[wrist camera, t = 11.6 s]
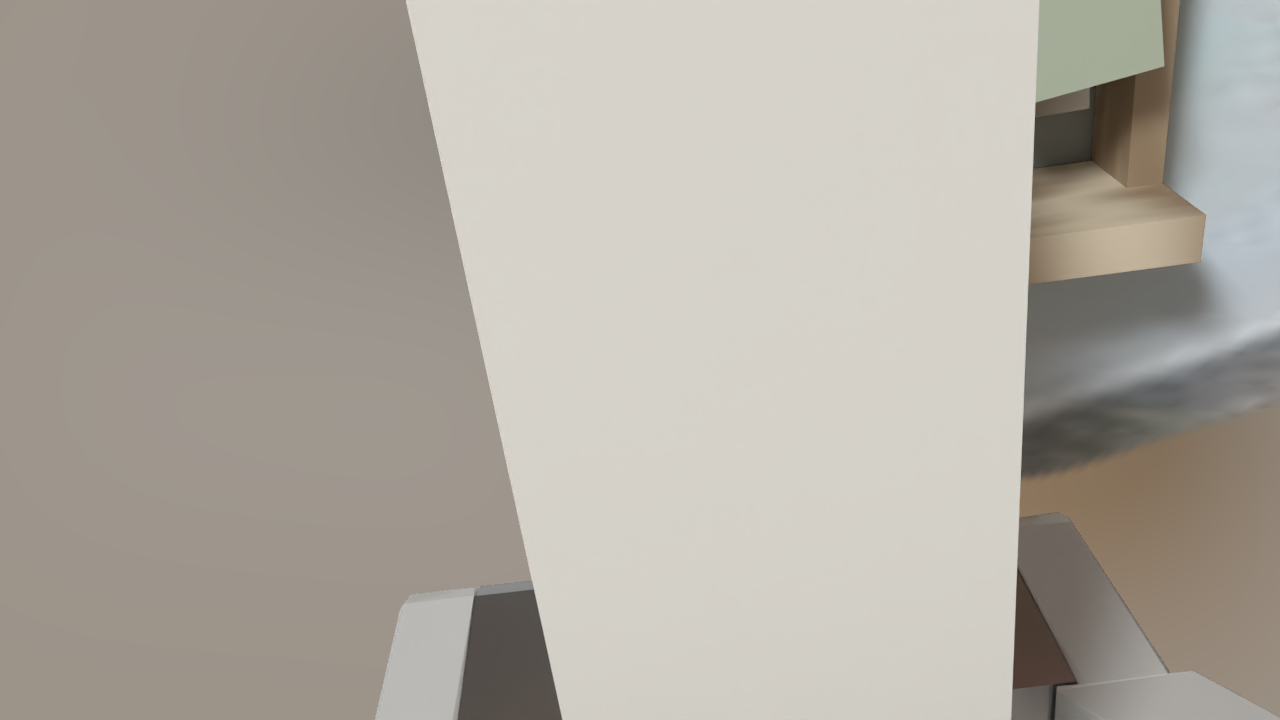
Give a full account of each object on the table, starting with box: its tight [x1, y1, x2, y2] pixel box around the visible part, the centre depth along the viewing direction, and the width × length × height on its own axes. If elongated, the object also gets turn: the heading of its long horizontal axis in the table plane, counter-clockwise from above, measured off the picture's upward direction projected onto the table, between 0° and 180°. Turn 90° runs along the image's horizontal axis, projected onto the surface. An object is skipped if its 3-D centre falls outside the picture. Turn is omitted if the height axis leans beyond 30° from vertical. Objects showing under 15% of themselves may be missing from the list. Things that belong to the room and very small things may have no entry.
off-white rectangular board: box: [406, 0, 1039, 720], centre depth 13 cm, size 2×14×18 cm, turn 8°
